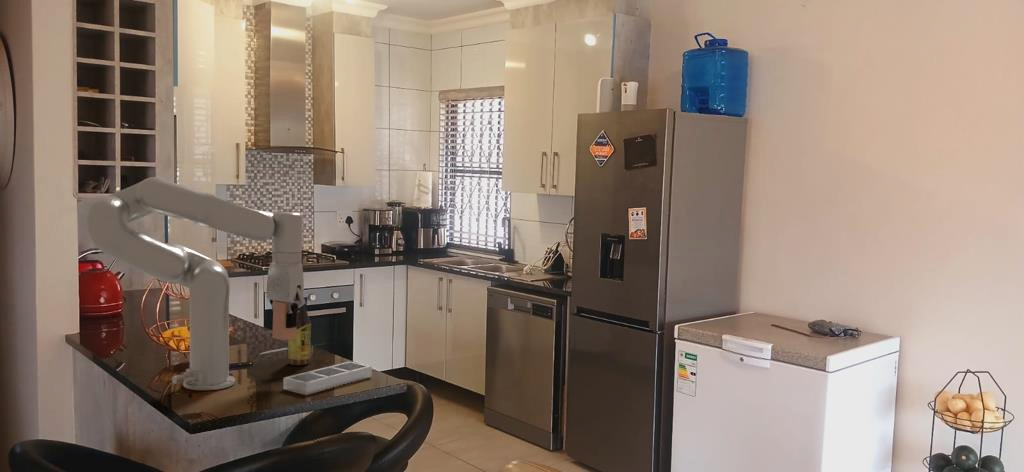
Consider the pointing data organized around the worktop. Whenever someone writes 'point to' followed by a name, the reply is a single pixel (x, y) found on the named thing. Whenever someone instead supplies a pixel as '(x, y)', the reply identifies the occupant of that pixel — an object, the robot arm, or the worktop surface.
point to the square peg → (282, 322)
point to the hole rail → (327, 378)
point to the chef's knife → (275, 350)
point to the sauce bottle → (300, 339)
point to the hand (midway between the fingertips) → (284, 325)
